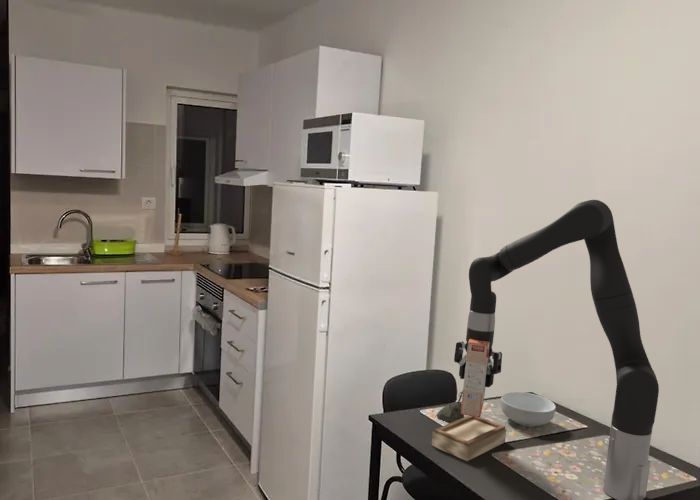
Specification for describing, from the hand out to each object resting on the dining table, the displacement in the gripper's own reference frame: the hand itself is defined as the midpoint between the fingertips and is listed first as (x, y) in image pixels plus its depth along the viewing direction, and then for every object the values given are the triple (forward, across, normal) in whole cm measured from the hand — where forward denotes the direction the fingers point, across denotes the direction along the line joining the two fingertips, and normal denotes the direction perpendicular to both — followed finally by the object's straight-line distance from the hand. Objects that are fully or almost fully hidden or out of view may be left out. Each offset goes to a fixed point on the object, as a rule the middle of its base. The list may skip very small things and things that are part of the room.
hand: (475, 382), depth 175 cm
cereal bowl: (+19, -2, -30) cm, 36 cm away
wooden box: (+18, 0, 0) cm, 18 cm away
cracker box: (+8, 0, 0) cm, 8 cm away
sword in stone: (+19, +14, -12) cm, 27 cm away
